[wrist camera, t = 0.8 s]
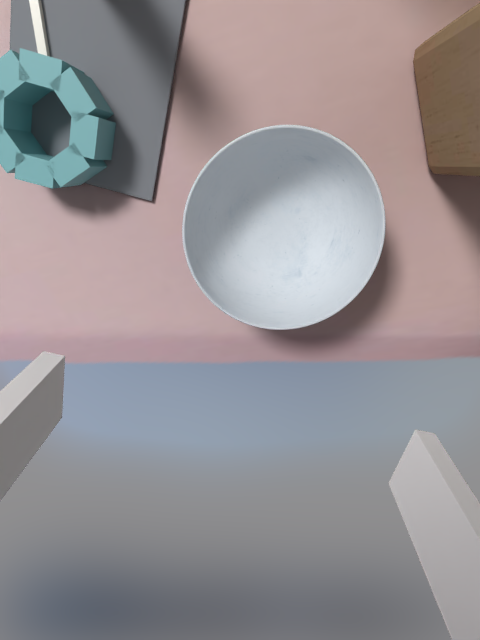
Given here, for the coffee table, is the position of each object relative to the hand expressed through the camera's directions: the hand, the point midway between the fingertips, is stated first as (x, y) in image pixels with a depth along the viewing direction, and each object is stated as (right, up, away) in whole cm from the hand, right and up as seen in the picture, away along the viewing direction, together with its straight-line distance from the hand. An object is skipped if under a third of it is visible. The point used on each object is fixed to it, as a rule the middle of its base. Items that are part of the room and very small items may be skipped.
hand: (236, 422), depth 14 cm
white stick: (-16, +28, +15) cm, 36 cm away
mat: (-12, +25, +17) cm, 33 cm away
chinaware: (+3, +13, +22) cm, 25 cm away
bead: (-15, +20, +19) cm, 31 cm away
